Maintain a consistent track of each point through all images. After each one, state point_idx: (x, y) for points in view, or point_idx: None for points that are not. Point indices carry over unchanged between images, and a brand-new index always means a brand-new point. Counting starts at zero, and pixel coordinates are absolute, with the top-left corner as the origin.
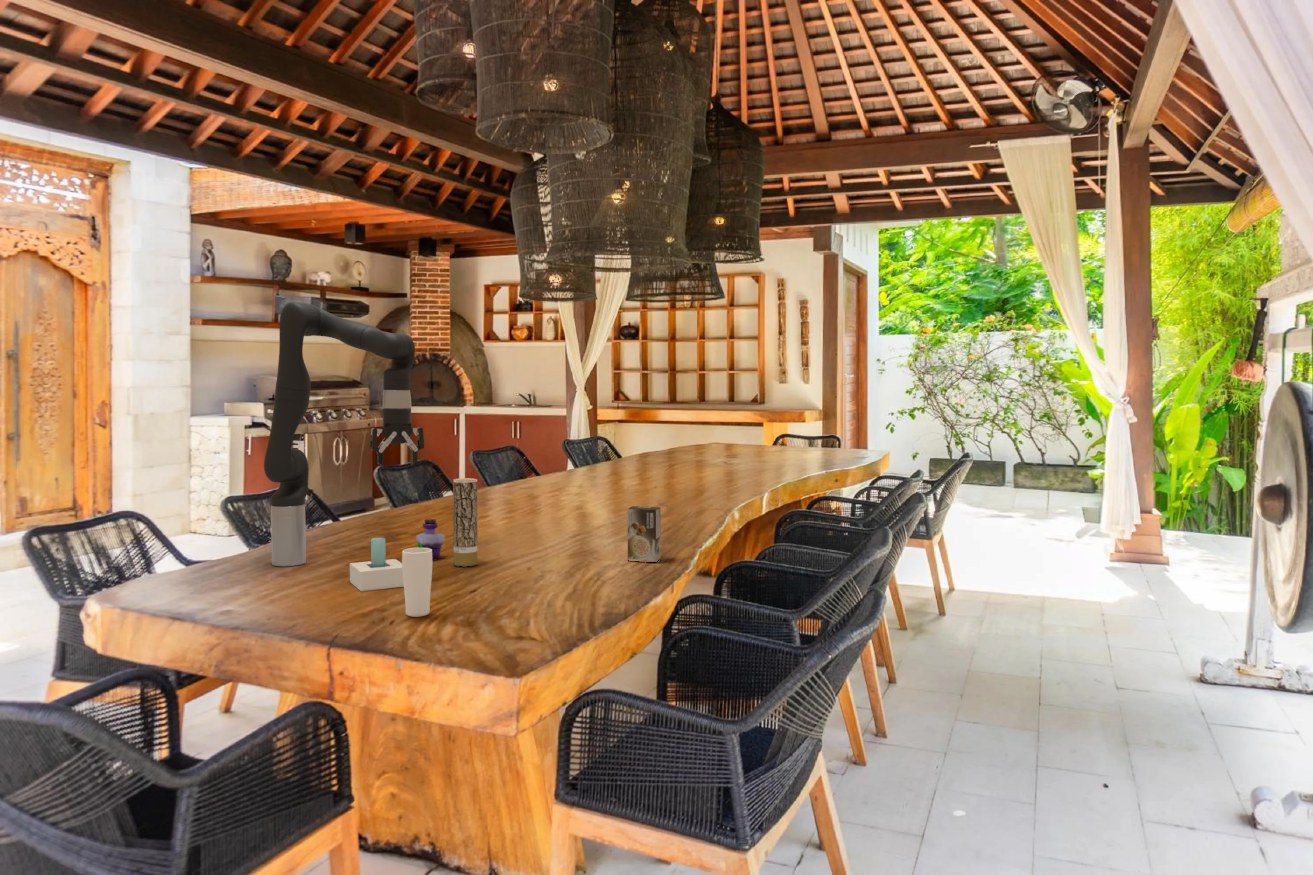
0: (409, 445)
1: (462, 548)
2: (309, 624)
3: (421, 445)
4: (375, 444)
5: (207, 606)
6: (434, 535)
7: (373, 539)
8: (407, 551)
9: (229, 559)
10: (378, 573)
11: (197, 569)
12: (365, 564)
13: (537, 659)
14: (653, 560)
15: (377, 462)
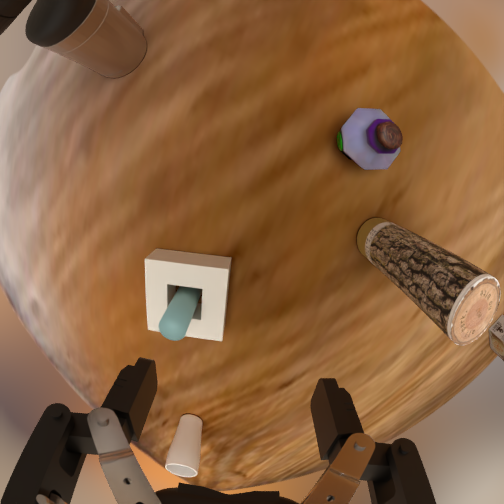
0: (309, 492)
1: (373, 264)
2: (100, 389)
3: (376, 483)
4: (74, 466)
5: (20, 274)
6: (375, 158)
7: (162, 328)
8: (173, 462)
9: None
10: None
11: (33, 61)
12: (166, 284)
13: (226, 487)
14: (491, 347)
15: (122, 371)
